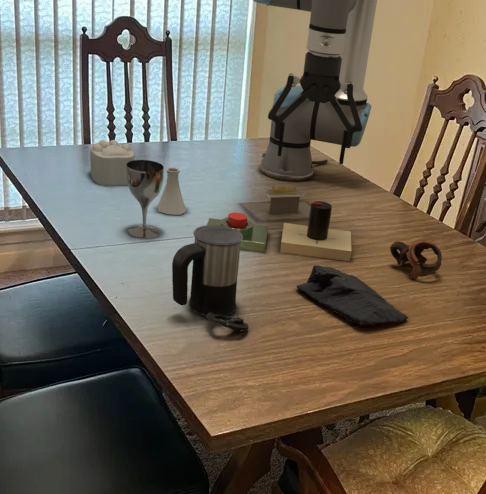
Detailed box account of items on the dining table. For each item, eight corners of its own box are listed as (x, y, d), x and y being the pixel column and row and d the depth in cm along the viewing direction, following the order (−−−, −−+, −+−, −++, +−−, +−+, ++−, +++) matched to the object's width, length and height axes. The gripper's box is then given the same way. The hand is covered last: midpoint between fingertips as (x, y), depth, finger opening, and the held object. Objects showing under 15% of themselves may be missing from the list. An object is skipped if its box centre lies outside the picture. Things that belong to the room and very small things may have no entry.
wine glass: (168, 231, 176) (170, 166, 168) (149, 241, 170) (150, 174, 161) (139, 222, 178) (140, 157, 170) (119, 232, 172) (118, 165, 164)
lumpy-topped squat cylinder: (97, 186, 194) (96, 151, 189) (86, 169, 204) (84, 135, 199) (137, 184, 199) (138, 151, 194) (124, 168, 208) (124, 135, 203)
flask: (189, 207, 190) (191, 167, 184) (183, 217, 184) (184, 176, 178) (160, 203, 190) (161, 162, 184) (153, 213, 184) (154, 171, 178)
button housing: (267, 234, 182) (269, 218, 179) (264, 252, 173) (266, 235, 170) (208, 226, 181) (209, 210, 179) (202, 244, 172) (203, 227, 170)
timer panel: (348, 241, 184) (350, 230, 183) (349, 261, 174) (351, 250, 173) (282, 232, 184) (284, 222, 182) (280, 252, 174) (281, 241, 172)
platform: (241, 203, 196) (243, 178, 193) (304, 201, 203) (307, 177, 200) (258, 221, 188) (260, 195, 184) (323, 218, 195) (327, 193, 191)
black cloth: (353, 336, 145) (357, 314, 143) (290, 287, 160) (293, 266, 157) (413, 322, 153) (418, 301, 150) (349, 277, 167) (352, 256, 165)
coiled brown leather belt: (435, 267, 179) (450, 246, 171) (424, 297, 174) (439, 277, 167) (388, 245, 178) (401, 223, 171) (376, 275, 174) (389, 253, 166)
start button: (247, 222, 177) (248, 213, 176) (245, 229, 173) (246, 220, 172) (228, 219, 177) (229, 211, 175) (226, 226, 173) (227, 218, 172)
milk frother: (207, 291, 154) (212, 220, 145) (274, 317, 148) (283, 244, 140) (163, 315, 143) (165, 240, 135) (233, 344, 137) (239, 268, 129)
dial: (327, 233, 180) (332, 201, 175) (327, 241, 176) (332, 208, 171) (306, 231, 180) (311, 198, 175) (306, 238, 176) (310, 205, 171)
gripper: (262, 48, 153) (252, 155, 165) (385, 65, 154) (367, 170, 166) (264, 42, 159) (254, 146, 171) (383, 58, 160) (365, 160, 172)
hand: (310, 158), depth 168 cm, fingers open, 13 cm apart
